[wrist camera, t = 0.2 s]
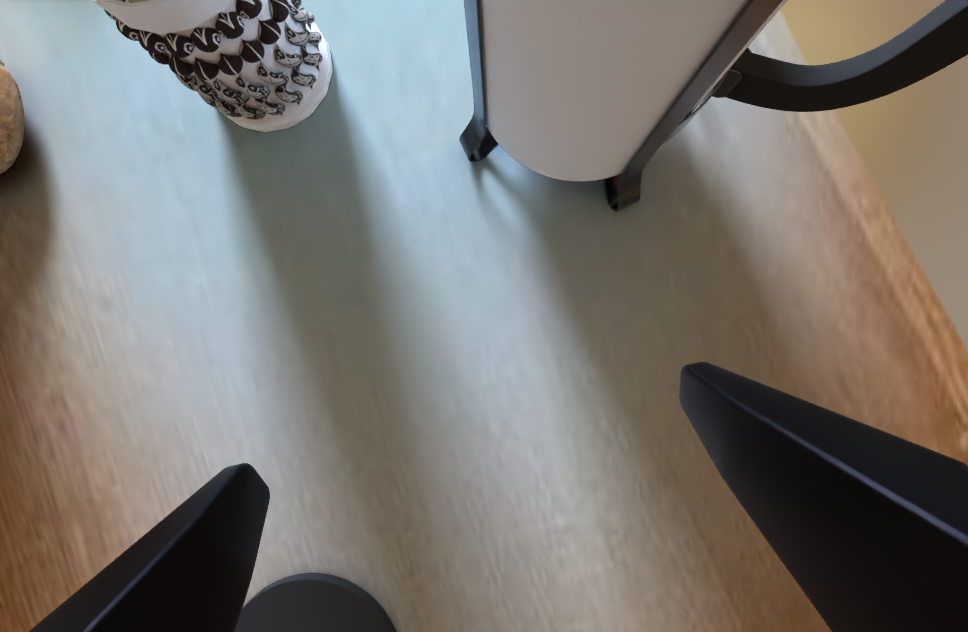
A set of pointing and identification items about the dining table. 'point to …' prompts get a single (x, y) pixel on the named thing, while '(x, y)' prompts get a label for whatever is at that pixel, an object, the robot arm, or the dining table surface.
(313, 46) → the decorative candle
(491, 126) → the coffee press
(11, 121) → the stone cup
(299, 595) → the coaster
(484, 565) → the dining table surface
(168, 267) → the dining table surface
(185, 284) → the dining table surface
